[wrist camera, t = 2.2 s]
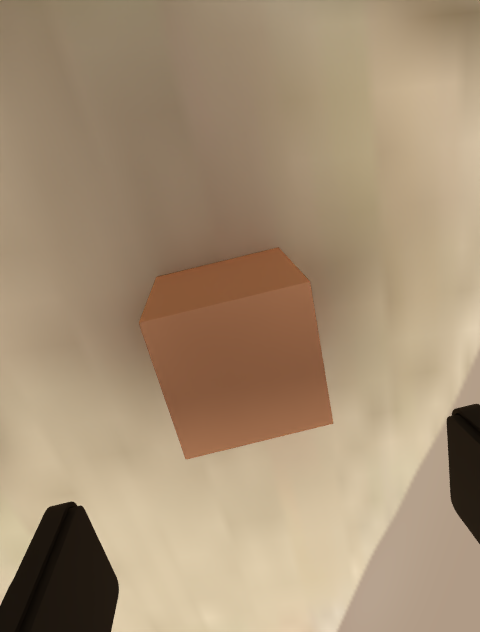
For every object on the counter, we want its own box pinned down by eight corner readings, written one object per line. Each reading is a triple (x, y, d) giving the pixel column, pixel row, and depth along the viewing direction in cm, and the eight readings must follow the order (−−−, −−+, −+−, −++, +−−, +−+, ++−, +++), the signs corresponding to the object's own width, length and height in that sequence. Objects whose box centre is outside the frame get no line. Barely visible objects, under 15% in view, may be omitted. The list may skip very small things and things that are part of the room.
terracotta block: (156, 276, 19) (138, 322, 14) (278, 246, 19) (310, 281, 14) (189, 382, 22) (185, 459, 16) (298, 355, 22) (333, 423, 16)
